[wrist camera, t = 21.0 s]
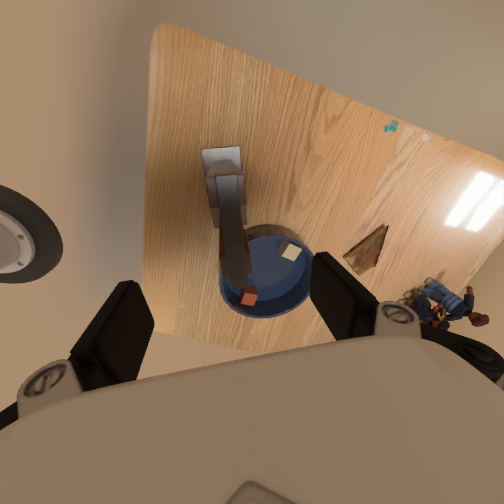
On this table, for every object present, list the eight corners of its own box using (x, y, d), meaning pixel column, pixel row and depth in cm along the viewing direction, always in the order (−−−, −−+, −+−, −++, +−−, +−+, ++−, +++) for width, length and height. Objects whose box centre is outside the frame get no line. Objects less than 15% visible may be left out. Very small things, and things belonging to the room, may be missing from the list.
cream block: (277, 249, 42) (281, 256, 39) (285, 237, 41) (289, 243, 38) (289, 254, 43) (294, 261, 40) (297, 242, 42) (302, 249, 39)
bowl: (226, 306, 48) (226, 324, 43) (212, 231, 39) (211, 243, 34) (304, 294, 49) (314, 310, 45) (309, 219, 40) (321, 229, 35)
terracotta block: (239, 294, 46) (240, 303, 43) (243, 284, 45) (244, 292, 42) (251, 297, 47) (253, 306, 44) (256, 286, 45) (258, 295, 43)
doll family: (415, 268, 50) (474, 305, 39) (444, 269, 52) (510, 305, 40) (377, 333, 61) (415, 378, 49) (403, 333, 62) (445, 376, 51)
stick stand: (214, 226, 38) (210, 294, 21) (201, 149, 32) (179, 153, 15) (246, 222, 39) (268, 286, 21) (239, 145, 33) (261, 146, 15)
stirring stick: (235, 170, 16) (237, 173, 14) (246, 277, 20) (248, 287, 19) (214, 172, 15) (214, 175, 14) (230, 279, 20) (231, 289, 19)
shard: (383, 222, 43) (390, 225, 42) (396, 245, 46) (403, 248, 45) (341, 255, 45) (345, 259, 44) (356, 274, 49) (361, 279, 47)
